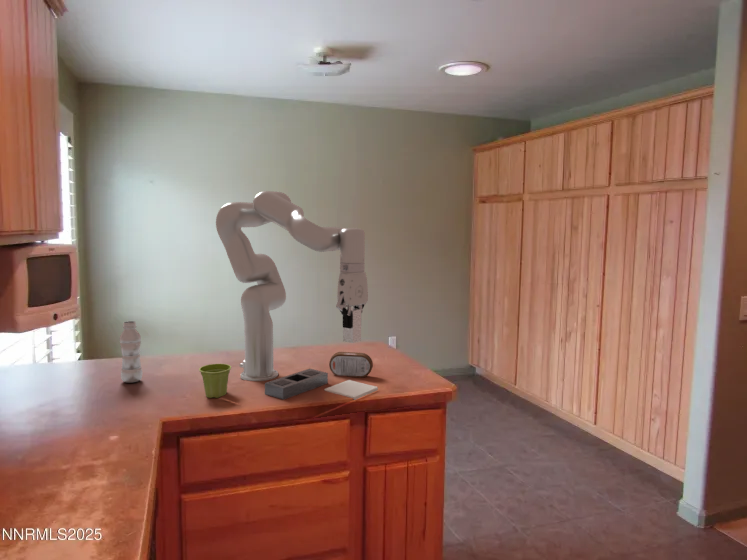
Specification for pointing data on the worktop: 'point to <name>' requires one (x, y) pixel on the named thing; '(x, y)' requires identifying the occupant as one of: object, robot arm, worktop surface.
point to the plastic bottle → (130, 353)
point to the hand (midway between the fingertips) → (351, 326)
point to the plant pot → (215, 379)
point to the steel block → (353, 327)
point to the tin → (351, 364)
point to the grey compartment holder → (296, 383)
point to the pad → (352, 389)
